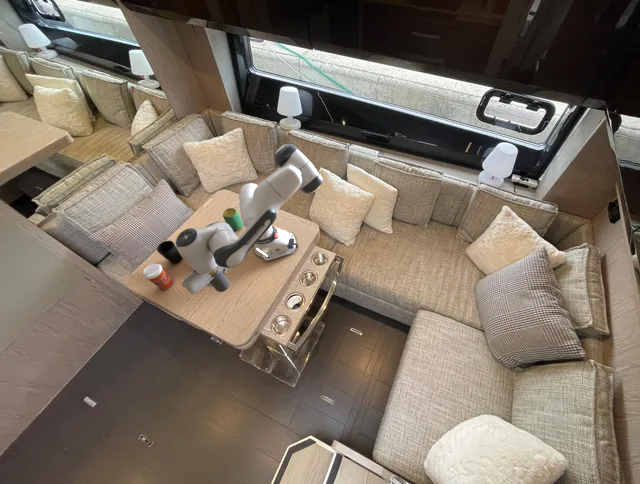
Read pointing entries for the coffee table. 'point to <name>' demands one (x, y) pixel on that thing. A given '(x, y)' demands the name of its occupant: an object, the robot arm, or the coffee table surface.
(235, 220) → the beverage can
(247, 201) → the robot arm
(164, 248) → the cup
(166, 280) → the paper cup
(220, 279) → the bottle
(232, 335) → the coffee table surface
